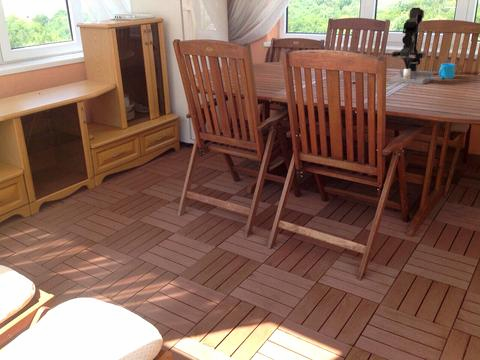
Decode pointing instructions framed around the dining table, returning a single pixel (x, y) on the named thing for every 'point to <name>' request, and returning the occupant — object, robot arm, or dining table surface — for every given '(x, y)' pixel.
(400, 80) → the jig
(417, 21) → the robot arm
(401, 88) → the dining table surface
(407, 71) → the cream domed knob
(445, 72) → the mug
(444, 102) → the dining table surface
